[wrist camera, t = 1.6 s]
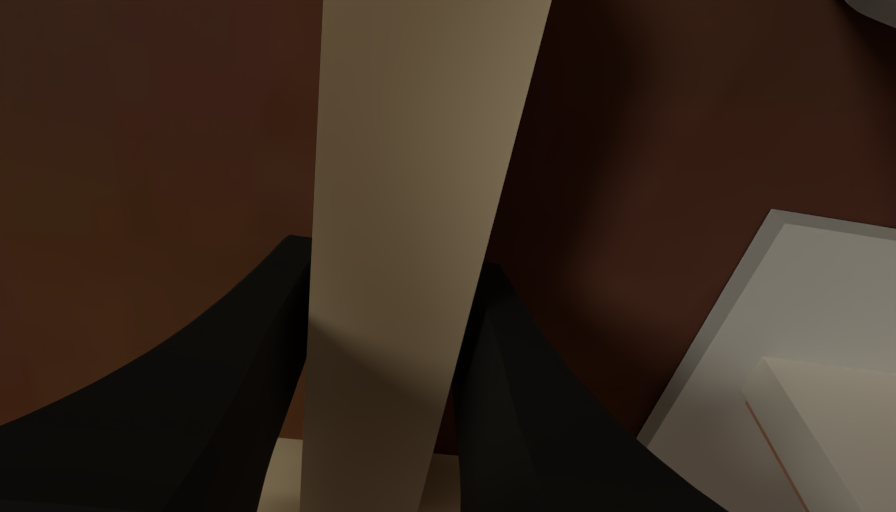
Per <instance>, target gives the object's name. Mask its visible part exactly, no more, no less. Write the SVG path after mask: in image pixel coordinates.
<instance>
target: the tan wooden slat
mask: <svg viewBox="0 0 896 512" xmlns="http://www.w3.org/2000/svg"><path fill="white" fill-rule="evenodd" d="M551 1H552V0H323V20H322V41H321V62H320V84H319V105H318V126H317V147H316V169H315V190H314V211H313V232H312V254H311V275H310V296H309V318H308V339H307V360H306V381H305V403H304V424H303V440H295V439H285V438H278V439H277V442H276V445H275V448H274V451H273V454H272V457H271V460H270V463H269V467H268V470H267V473H266V477H265V481H264V485H263V489H262V493H261V497H260V501H259V505H258V509H257V512H460V501H461V490H460V469H459V458H458V456H455V455H445V454H435V453H433V450H434V447H435V443H436V439H437V435H438V431H439V427H440V424H441V420H442V416H443V412H444V408H445V405H446V401H447V397H448V393H449V389H450V386H451V382H452V378H453V374H454V370H455V367H456V363H457V359H458V355H459V351H460V347H461V344H462V340H463V336H464V332H465V328H466V325H467V321H468V317H469V313H470V309H471V306H472V302H473V298H474V294H475V290H476V287H477V283H478V279H479V275H480V271H481V267H482V264H483V260H484V256H485V252H486V248H487V245H488V241H489V237H490V233H491V229H492V226H493V222H494V218H495V214H496V210H497V207H498V203H499V199H500V195H501V191H502V187H503V184H504V180H505V176H506V172H507V168H508V165H509V161H510V157H511V153H512V149H513V146H514V142H515V138H516V134H517V130H518V127H519V123H520V119H521V115H522V111H523V107H524V104H525V100H526V96H527V92H528V88H529V85H530V81H531V77H532V73H533V69H534V66H535V62H536V58H537V54H538V50H539V47H540V43H541V39H542V35H543V31H544V27H545V24H546V20H547V16H548V12H549V8H550V5H551Z"/></svg>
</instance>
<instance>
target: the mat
mask: <svg viewBox="0 0 896 512" xmlns="http://www.w3.org/2000/svg"><path fill="white" fill-rule="evenodd" d="M762 357H768V358H776V359H784V360H792V361H799V362H807V363H815V364H823V365H830V366H838V367H846V368H854V369H861V370H869V371H877V372H884V373H892V374H896V229H893V228H887V227H881V226H875V225H868V224H862V223H856V222H850V221H844V220H837V219H831V218H825V217H819V216H813V215H806V214H800V213H794V212H788V211H782V210H775V209H771V210H770V212H769V214H768V215H767V217H766V219H765V220H764V222H763V224H762V226H761V227H760V229H759V231H758V232H757V234H756V236H755V237H754V239H753V241H752V242H751V244H750V246H749V248H748V249H747V251H746V253H745V254H744V256H743V258H742V259H741V261H740V263H739V265H738V266H737V268H736V270H735V271H734V273H733V275H732V276H731V278H730V280H729V282H728V283H727V285H726V287H725V288H724V290H723V292H722V293H721V295H720V297H719V298H718V300H717V302H716V304H715V305H714V307H713V309H712V310H711V312H710V314H709V315H708V317H707V319H706V321H705V322H704V324H703V326H702V327H701V329H700V331H699V332H698V334H697V336H696V338H695V339H694V341H693V343H692V344H691V346H690V348H689V349H688V351H687V353H686V355H685V356H684V358H683V360H682V361H681V363H680V365H679V366H678V368H677V370H676V371H675V373H674V375H673V377H672V378H671V380H670V382H669V383H668V385H667V387H666V388H665V390H664V392H663V394H662V395H661V397H660V399H659V400H658V402H657V404H656V405H655V407H654V409H653V411H652V412H651V414H650V416H649V417H648V419H647V421H646V422H645V424H644V426H643V427H642V429H641V431H640V433H639V434H638V436H637V438H636V439H637V440H638V441H639V442H640V443H642V444H643V445H644V446H645V447H646V448H647V449H649V450H650V451H651V452H652V453H653V454H654V455H655V456H657V457H658V458H659V459H660V460H661V461H663V462H664V463H665V464H666V465H668V466H669V467H670V468H671V469H673V470H674V471H675V472H676V473H677V474H679V475H680V476H681V477H682V478H684V479H685V480H686V481H687V482H689V483H690V484H691V485H693V486H694V487H695V488H696V489H698V490H699V491H701V492H702V493H703V494H705V495H706V496H708V497H709V498H710V499H712V500H713V501H715V502H716V503H718V504H719V505H720V506H722V507H723V508H725V509H726V510H727V511H729V512H806V511H805V509H804V507H803V506H802V504H801V502H800V500H799V499H798V497H797V495H796V493H795V491H794V490H793V488H792V486H791V484H790V482H789V481H788V479H787V477H786V475H785V473H784V472H783V470H782V468H781V466H780V464H779V463H778V461H777V459H776V457H775V455H774V454H773V452H772V450H771V448H770V447H769V445H768V443H767V441H766V439H765V438H764V436H763V434H762V432H761V430H760V429H759V427H758V425H757V423H756V421H755V420H754V418H753V416H752V414H751V412H750V411H749V409H748V407H747V405H746V401H747V400H746V398H745V396H744V394H743V393H742V391H741V387H742V386H743V384H744V383H745V381H746V380H747V379H748V377H749V376H750V374H751V373H752V371H753V370H754V369H755V367H756V366H757V364H758V363H759V361H760V360H761V359H762Z"/></svg>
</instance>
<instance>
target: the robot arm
mask: <svg viewBox="0 0 896 512" xmlns="http://www.w3.org/2000/svg"><path fill="white" fill-rule="evenodd" d="M311 254H312V238H309V237H302V236H295V235H289V236H287V237H286V238H284V239H283V240H282V241H281V242H280V243H279V245H278V246H277V247H276V248H275V249H274V250H273V251H272V252H271V253H270V254H269V255H268V256H267V257H266V258H265V259H264V260H263V261H262V262H261V263H260V264H259V265H258V266H257V267H256V268H255V269H254V270H253V271H252V272H250V273H249V274H248V275H247V276H246V277H245V278H244V279H243V280H242V281H240V282H239V283H238V284H237V285H236V286H235V287H234V288H233V289H232V290H231V291H229V292H228V293H227V294H226V295H225V296H224V297H222V298H221V299H220V300H219V301H217V302H216V303H215V304H214V305H212V306H211V307H210V308H209V309H207V310H206V311H205V312H204V313H202V314H201V315H200V316H199V317H197V318H196V319H195V320H193V321H192V322H191V323H189V324H188V325H187V326H185V327H184V328H182V329H181V330H180V331H178V332H177V333H175V334H174V335H173V336H171V337H170V338H168V339H167V340H165V341H164V342H162V343H161V344H159V345H158V346H156V347H155V348H153V349H152V350H150V351H148V352H147V353H145V354H143V355H142V356H140V357H138V358H137V359H135V360H133V361H132V362H130V363H128V364H126V365H125V366H123V367H121V368H119V369H118V370H116V371H114V372H112V373H111V374H109V375H107V376H105V377H103V378H102V379H100V380H98V381H96V382H94V383H92V384H90V385H88V386H86V387H84V388H82V389H80V390H78V391H76V392H74V393H72V394H70V395H68V396H66V397H64V398H62V399H60V400H58V401H56V402H54V403H51V404H49V405H47V406H45V407H43V408H41V409H38V410H36V411H34V412H32V413H30V414H27V415H25V416H23V417H20V418H18V419H16V420H14V421H11V422H9V423H6V424H4V425H1V426H0V512H257V509H258V505H259V501H260V497H261V493H262V489H263V485H264V481H265V477H266V473H267V470H268V467H269V463H270V460H271V457H272V454H273V451H274V448H275V445H276V442H277V439H278V436H279V434H280V431H281V428H282V425H283V422H284V420H285V417H286V414H287V411H288V408H289V406H290V403H291V400H292V397H293V394H294V391H295V389H296V386H297V383H298V380H299V377H300V374H301V372H302V369H303V366H304V363H305V360H306V357H307V339H308V318H309V296H310V275H311ZM452 389H453V401H454V413H455V424H456V435H457V447H458V458H459V469H460V490H461V501H460V512H729V511H727V510H726V509H725V508H723V507H722V506H720V505H719V504H718V503H716V502H715V501H713V500H712V499H710V498H709V497H708V496H706V495H705V494H703V493H702V492H701V491H699V490H698V489H696V488H695V487H694V486H693V485H691V484H690V483H689V482H687V481H686V480H685V479H684V478H682V477H681V476H680V475H679V474H677V473H676V472H675V471H674V470H673V469H671V468H670V467H669V466H668V465H666V464H665V463H664V462H663V461H661V460H660V459H659V458H658V457H657V456H655V455H654V454H653V453H652V452H651V451H650V450H649V449H647V448H646V447H645V446H644V445H643V444H642V443H640V442H639V441H638V440H637V439H636V438H635V437H634V436H633V435H632V434H631V433H630V432H629V431H628V430H627V429H626V428H624V427H623V426H622V425H621V424H620V423H619V422H618V421H617V420H616V419H615V418H614V417H613V416H612V415H611V414H610V413H609V412H608V411H607V410H606V409H605V408H604V407H603V406H602V405H601V404H600V403H599V402H598V401H597V400H596V399H595V397H594V396H593V395H592V394H591V393H590V392H589V391H588V390H587V389H586V388H585V386H584V385H583V384H582V383H581V382H580V381H579V380H578V379H577V377H576V376H575V375H574V374H573V373H572V371H571V370H570V369H569V368H568V367H567V365H566V364H565V363H564V361H563V360H562V359H561V357H560V356H559V355H558V354H557V352H556V351H555V350H554V348H553V347H552V345H551V344H550V343H549V341H548V340H547V338H546V337H545V336H544V334H543V333H542V331H541V330H540V328H539V327H538V325H537V324H536V322H535V321H534V319H533V318H532V316H531V315H530V313H529V312H528V310H527V308H526V307H525V305H524V304H523V302H522V300H521V299H520V297H519V295H518V294H517V292H516V290H515V289H514V287H513V285H512V284H511V282H510V280H509V278H508V277H507V275H506V273H505V272H504V270H503V268H502V267H501V266H500V264H493V263H486V262H483V264H482V267H481V271H480V275H479V279H478V283H477V287H476V290H475V294H474V298H473V302H472V306H471V309H470V313H469V317H468V321H467V325H466V328H465V332H464V336H463V340H462V344H461V347H460V351H459V355H458V359H457V363H456V367H455V370H454V374H453V378H452Z"/></svg>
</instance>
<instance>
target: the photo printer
mask: <svg viewBox="0 0 896 512" xmlns="http://www.w3.org/2000/svg"><path fill="white" fill-rule="evenodd" d="M844 1H845V2H846V3H848V4H849V5H850V6H851V7H852V8H853V9H855V10H856V11H858V12H860V13H861V14H863V15H865V16H867V17H870V18H872V19H875V20H877V21H879V22H882V23H884V24H887V25H889V26H892V27H894V28H896V0H844Z"/></svg>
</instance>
